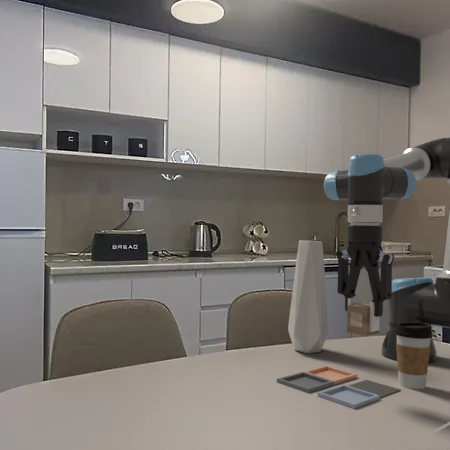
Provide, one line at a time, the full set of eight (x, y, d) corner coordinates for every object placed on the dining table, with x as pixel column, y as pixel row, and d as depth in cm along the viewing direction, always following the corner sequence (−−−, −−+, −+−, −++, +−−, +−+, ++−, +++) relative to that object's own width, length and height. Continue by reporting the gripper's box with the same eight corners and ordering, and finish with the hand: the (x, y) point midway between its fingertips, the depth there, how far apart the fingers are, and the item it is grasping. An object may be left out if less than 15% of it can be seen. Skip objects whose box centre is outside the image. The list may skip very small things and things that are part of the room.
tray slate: (342, 389, 117) (343, 384, 117) (379, 400, 110) (379, 395, 110) (317, 397, 111) (317, 392, 111) (354, 410, 104) (354, 404, 104)
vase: (278, 349, 153) (281, 240, 153) (302, 343, 161) (305, 240, 160) (310, 358, 144) (313, 241, 144) (334, 351, 152) (337, 241, 151)
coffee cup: (434, 394, 116) (436, 328, 116) (395, 390, 117) (397, 325, 117) (427, 382, 124) (429, 321, 124) (391, 379, 125) (392, 319, 125)
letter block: (359, 328, 117) (360, 302, 117) (378, 332, 113) (379, 305, 113) (346, 331, 113) (346, 304, 113) (365, 336, 110) (366, 307, 110)
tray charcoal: (302, 376, 126) (302, 371, 126) (333, 386, 119) (333, 381, 119) (276, 383, 120) (276, 378, 120) (308, 394, 113) (308, 389, 113)
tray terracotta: (326, 370, 132) (326, 365, 132) (356, 379, 125) (357, 374, 125) (302, 376, 126) (302, 371, 126) (333, 386, 119) (334, 381, 119)
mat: (366, 382, 123) (366, 379, 123) (400, 392, 116) (400, 389, 116) (344, 389, 117) (344, 386, 117) (379, 400, 110) (379, 397, 110)
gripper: (321, 223, 117) (320, 324, 118) (392, 225, 104) (390, 338, 104) (341, 223, 122) (339, 319, 123) (411, 225, 109) (409, 333, 109)
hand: (363, 328), depth 113 cm, fingers closed on letter block, 5 cm apart
